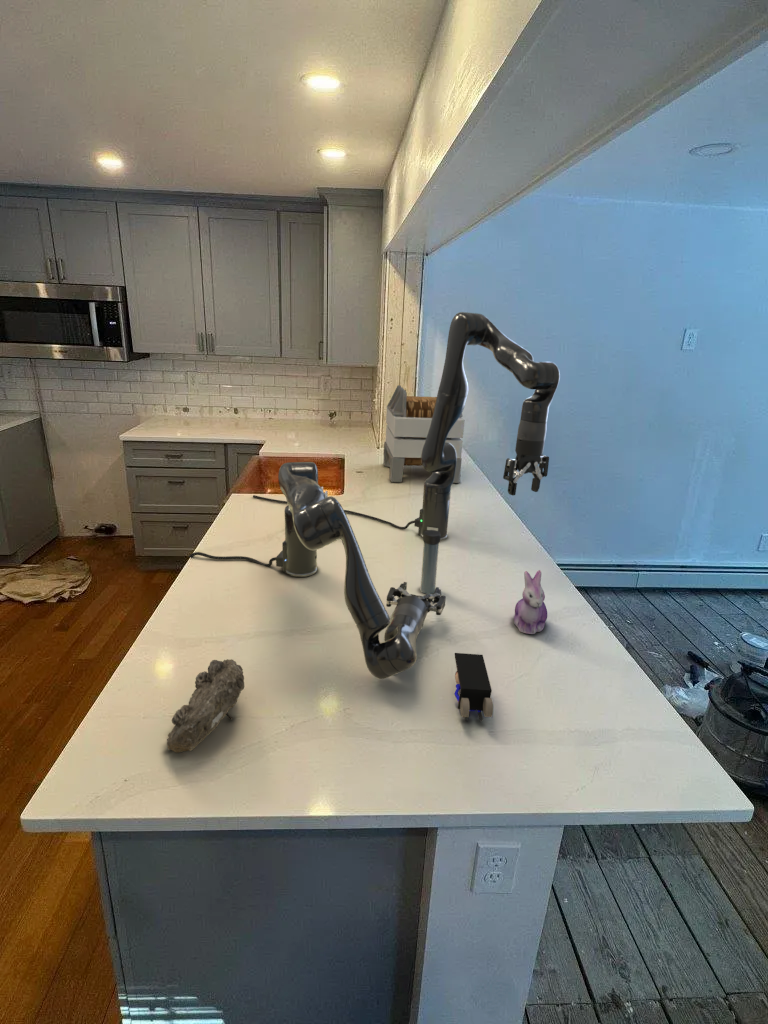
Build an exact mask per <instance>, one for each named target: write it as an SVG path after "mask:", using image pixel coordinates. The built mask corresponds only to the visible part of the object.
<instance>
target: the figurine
mask: <svg viewBox="0 0 768 1024" xmlns="http://www.w3.org/2000/svg"><path fill="white" fill-rule="evenodd" d="M523 575H524V588H523V590H522V596H521V597H522V598H521V599H519V600H518V601H517V602H516V604H515V607H514V615H513V623H514V626H515V627H516V628H517V629H518V631H519V632H520V633H523V634H529V635H535V634H536V633H540V632H542V631H543V630H544V628H545V625H546V621H547V620H548V610H547V606H546V604H545V602H544V601H545V598H546V594H545V592H544V588H543V586H542V583H541V581H542V570H541V569H538V570H537V571H536V572H535V575H534V577H532V576H531V574H530V573H529V572H528V571H527V570H525V571H524V573H523Z"/></svg>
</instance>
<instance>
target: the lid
mask: <svg viewBox="0 0 768 1024" xmlns="http://www.w3.org/2000/svg"><path fill="white" fill-rule="evenodd" d="M440 537H441V535H440V532H438V531H435V530H426V531H424V534H423V538H422V541H423V543H424V542H425V543H427V544H438V543H439V544H440V543H441V541H440Z"/></svg>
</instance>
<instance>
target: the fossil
mask: <svg viewBox="0 0 768 1024" xmlns="http://www.w3.org/2000/svg"><path fill="white" fill-rule="evenodd" d="M243 670H244V669H243V667H242V665H240V664H237V662H236V661H235V660H234V659H232V658H231V659H227V658H226V659H224V660H223V661H222V660H217V659H212V660H211V661H210V663H209V665H208V666H207V671H201V672H199V673H198V674H197V675H196V676H195V680H194V684H195V685H194V687H195V689H194V690H193V693H192V694H191V697H190V698H189V700H188V704H184V705H182V706H181V707H180V709H177V710H176V711H175V713H174V715H173V716H172V718H171V723H172V724H173V727H172V730H171V731H170V732H168V734H167V738H166V741H167V742H166V745H167V749H168V750H169V751H173V752H174V753H176V754H178V753H182V752H188V751H189V752H192V751H193V750H195V748H196V747H197V746H199V744H200V743H201V742H203V741H204V740H205V739H206V738H207V737H208V736H209V735H210V734H211V733H212V732H214V730H215V729H217V727H218V726H219V724H220V722H221V721H222V720H223V719H224V718H225V716H226V717H227V719H229V720H233V717H232V715H230V714H229V710H230V709H231V708H234V706H235V704H236V703H237V702H238V699H239V697H240V695H241V693H242V691H243V690H245V689H244V688H245V675H244V671H243Z"/></svg>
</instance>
